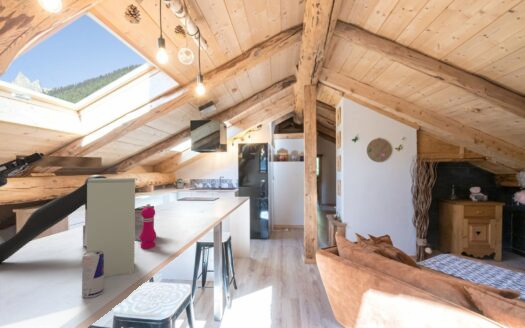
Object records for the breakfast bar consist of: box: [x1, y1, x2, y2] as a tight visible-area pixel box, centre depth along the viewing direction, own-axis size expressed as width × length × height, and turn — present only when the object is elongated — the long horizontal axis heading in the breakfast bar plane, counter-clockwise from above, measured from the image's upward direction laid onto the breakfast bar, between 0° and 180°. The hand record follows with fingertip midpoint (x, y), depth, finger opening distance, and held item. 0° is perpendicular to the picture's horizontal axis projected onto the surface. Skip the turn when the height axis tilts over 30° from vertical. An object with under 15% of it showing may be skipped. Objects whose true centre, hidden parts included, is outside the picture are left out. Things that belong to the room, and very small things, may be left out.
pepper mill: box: [139, 203, 157, 250], centre depth 122 cm, size 7×7×20 cm
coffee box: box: [135, 205, 155, 241], centre depth 137 cm, size 9×6×16 cm
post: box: [86, 177, 136, 278], centre depth 94 cm, size 14×10×33 cm
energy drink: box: [81, 251, 105, 299], centre depth 77 cm, size 5×5×12 cm
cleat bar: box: [15, 154, 103, 168], centre depth 89 cm, size 23×4×4 cm, turn 114°
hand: (41, 155), depth 87 cm, fingers closed on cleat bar, 3 cm apart
